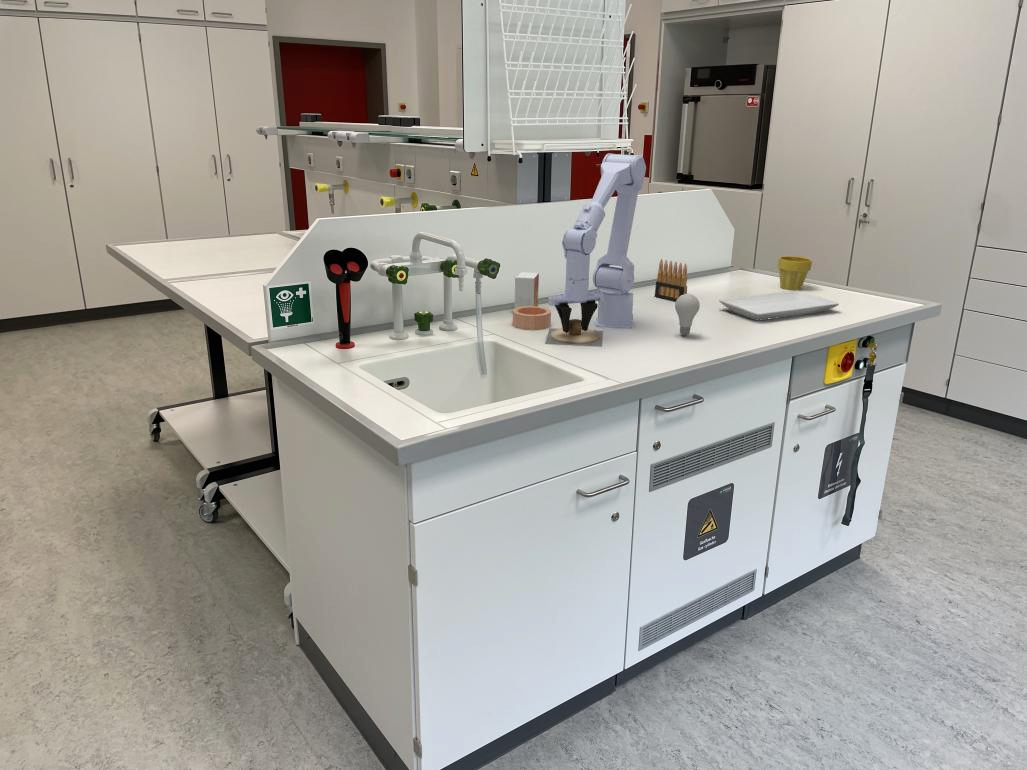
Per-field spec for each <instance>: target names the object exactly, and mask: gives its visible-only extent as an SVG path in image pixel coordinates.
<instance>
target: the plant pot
mask: <svg viewBox="0 0 1027 770" xmlns="http://www.w3.org/2000/svg"><path fill="white" fill-rule="evenodd" d="M777 261H778V262H777V268H778V270H779V272H778V273H779V286H780V288H781V289H783V290H786V291H787V290H788V291H801V289H802V288H803V285H804V283H805V281H806V278H807V275H808V273H809V272H810V271H811V270H812V269H811V268H812V263H813V259H811V258H809V257H805V256H797V255H781V256H779V257H778V260H777Z"/></svg>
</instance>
